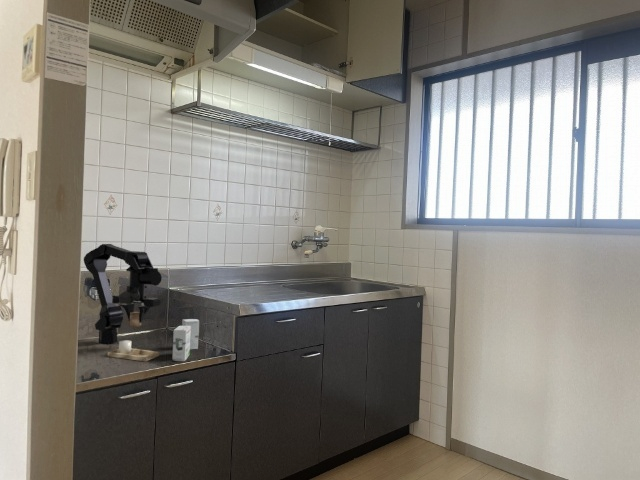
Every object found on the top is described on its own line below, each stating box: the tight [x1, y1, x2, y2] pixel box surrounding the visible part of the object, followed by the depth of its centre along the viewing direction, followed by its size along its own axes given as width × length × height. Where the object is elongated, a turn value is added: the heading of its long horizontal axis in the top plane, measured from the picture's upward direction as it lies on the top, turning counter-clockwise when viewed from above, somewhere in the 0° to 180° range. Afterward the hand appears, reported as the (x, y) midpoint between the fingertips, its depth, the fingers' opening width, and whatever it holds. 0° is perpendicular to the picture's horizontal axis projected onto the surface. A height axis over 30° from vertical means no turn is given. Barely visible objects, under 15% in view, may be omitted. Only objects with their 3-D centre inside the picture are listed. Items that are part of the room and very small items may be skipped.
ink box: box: [171, 325, 191, 362], centre depth 188 cm, size 9×5×12 cm, turn 3°
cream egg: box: [118, 339, 132, 354], centre depth 186 cm, size 4×4×5 cm
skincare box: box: [181, 318, 200, 350], centre depth 201 cm, size 6×4×12 cm
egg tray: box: [107, 347, 160, 362], centre depth 185 cm, size 16×9×2 cm, turn 75°
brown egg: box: [129, 311, 142, 327], centre depth 196 cm, size 4×4×5 cm
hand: (135, 322), depth 196 cm, fingers closed on brown egg, 4 cm apart
